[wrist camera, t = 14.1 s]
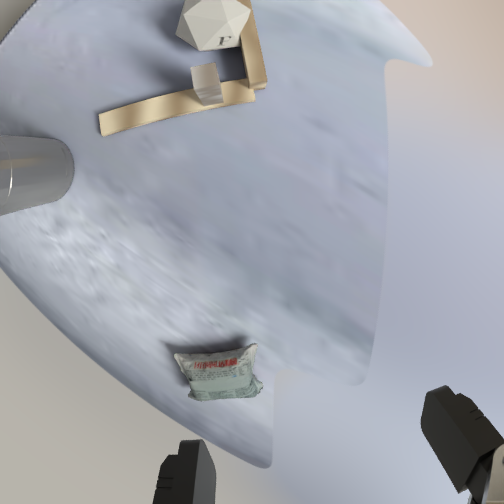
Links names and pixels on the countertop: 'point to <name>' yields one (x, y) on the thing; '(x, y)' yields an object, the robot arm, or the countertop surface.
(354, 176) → the countertop surface
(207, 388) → the packaged food
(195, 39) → the die
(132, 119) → the l-shaped corner bracket
